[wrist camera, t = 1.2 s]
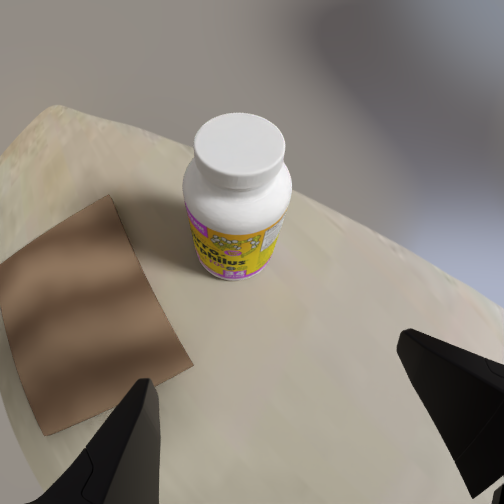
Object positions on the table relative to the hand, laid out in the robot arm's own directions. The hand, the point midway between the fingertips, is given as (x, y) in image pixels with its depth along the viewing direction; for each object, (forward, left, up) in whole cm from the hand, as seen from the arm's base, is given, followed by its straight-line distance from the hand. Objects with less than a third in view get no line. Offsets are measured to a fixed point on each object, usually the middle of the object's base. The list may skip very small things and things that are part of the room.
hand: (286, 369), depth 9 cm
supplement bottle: (+10, -4, -14) cm, 17 cm away
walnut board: (+12, +12, -14) cm, 22 cm away
